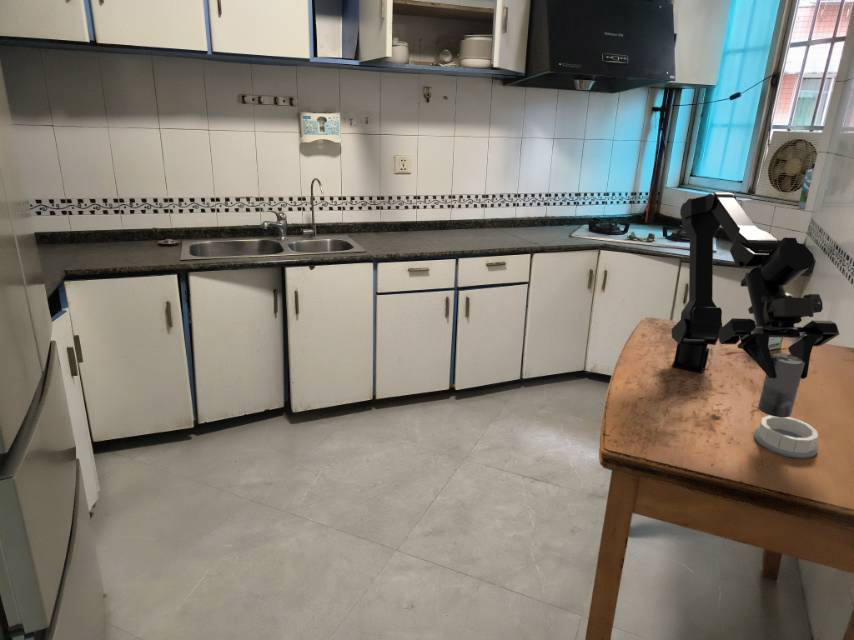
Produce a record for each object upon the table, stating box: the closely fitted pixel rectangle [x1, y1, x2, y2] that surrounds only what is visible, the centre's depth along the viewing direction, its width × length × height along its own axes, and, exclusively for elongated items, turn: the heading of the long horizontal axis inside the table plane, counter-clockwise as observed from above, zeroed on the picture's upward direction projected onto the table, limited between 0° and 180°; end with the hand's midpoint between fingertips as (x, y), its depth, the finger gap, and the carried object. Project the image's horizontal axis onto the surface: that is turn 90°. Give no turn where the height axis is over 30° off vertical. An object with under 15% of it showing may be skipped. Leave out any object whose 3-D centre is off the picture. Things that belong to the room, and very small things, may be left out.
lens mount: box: [753, 414, 819, 459], centre depth 107 cm, size 10×10×3 cm
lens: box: [757, 352, 805, 417], centre depth 104 cm, size 5×5×10 cm
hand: (788, 377), depth 102 cm, fingers closed on lens, 5 cm apart
